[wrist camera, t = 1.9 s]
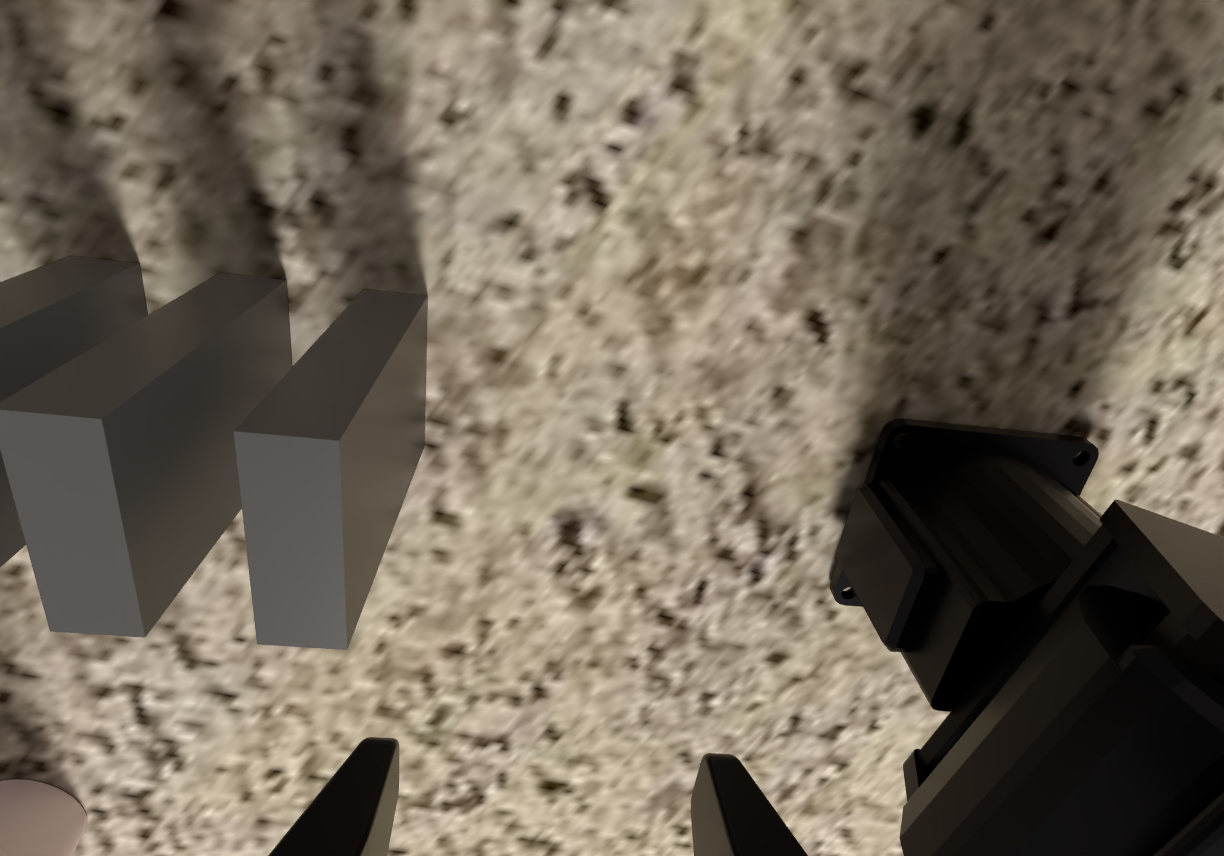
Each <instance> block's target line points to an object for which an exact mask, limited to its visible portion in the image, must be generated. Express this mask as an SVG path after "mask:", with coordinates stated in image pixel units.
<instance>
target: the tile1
mask: <svg viewBox="0 0 1224 856" xmlns="http://www.w3.org/2000/svg"><path fill="white" fill-rule="evenodd" d="M427 307H428V296H422V295H413V294H405V293H396V292H387V291H378V290H369V289H363V290H362V292H361V293H360V294H359V295H358V296H357V297H356V298H355V299H354V300H353V301H352V302H351V304H350V305H349V306H348V307H347V308H346V309H345V310H344V311H343V312H342V313H341V314H340V316H339V317H338V318H337V319H336V320H335V321H334V322H333V323H332V324H331V325H330V327H329V328H328V329H327V330H326V331H325V332H324V333H323V334H322V335H321V336H320V337H319V339H318V340H317V341H316V342H315V343H314V344H313V345H312V346H311V347H310V348H309V349H308V351H307V352H306V353H305V354H304V355H303V356H302V357H301V358H300V359H299V360H298V361H297V363H296V364H295V365H294V366H293V367H292V368H291V369H290V370H289V371H288V372H287V373H286V375H285V376H284V377H283V378H282V379H281V380H280V381H279V382H278V383H277V384H276V385H275V387H274V388H273V389H272V390H271V391H270V392H269V393H268V394H267V395H266V396H265V398H264V399H263V400H262V401H261V402H260V403H259V404H258V405H257V406H256V407H255V408H254V410H253V411H252V412H251V413H250V414H249V415H248V416H247V417H246V418H245V419H244V420H243V422H242V423H241V424H240V425H239V426H238V427H237V428H236V429H235V430H234V439H235V448H236V457H237V466H238V475H239V484H240V493H241V502H242V511H243V520H244V530H245V539H246V548H247V557H248V566H249V575H250V584H251V593H252V602H253V611H254V620H255V629H256V639H257V644H261V645H277V646H294V647H310V648H326V649H343V650H347V649H348V646H349V643H350V641H351V638H352V636H353V633H354V630H355V628H356V625H357V622H358V620H359V617H360V614H361V612H362V609H363V607H364V604H365V601H366V599H367V596H368V593H369V591H370V588H371V586H372V583H373V580H374V578H375V575H376V572H377V570H378V567H379V564H380V562H381V559H382V557H383V554H384V551H385V549H386V546H387V543H388V541H389V538H390V536H391V533H392V530H393V528H394V525H395V522H396V520H397V517H398V514H399V512H400V509H401V507H402V504H403V501H404V499H405V496H406V493H407V491H408V488H409V486H410V483H411V480H412V478H413V475H414V472H415V470H416V467H417V464H418V462H419V459H420V457H421V454H422V451H423V449H424V446H425V400H426V353H427Z"/></svg>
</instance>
